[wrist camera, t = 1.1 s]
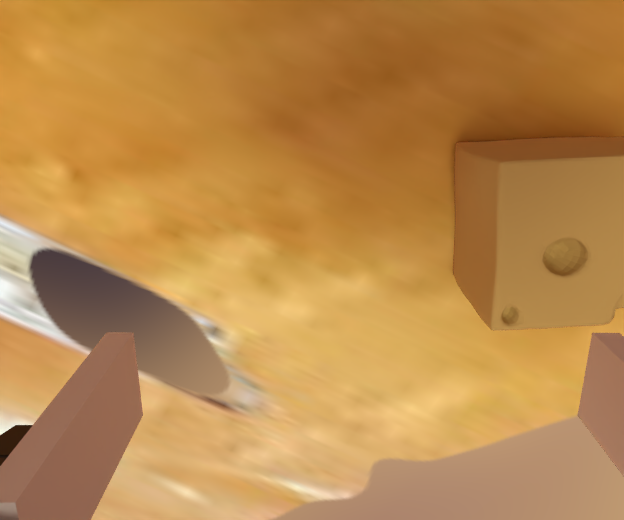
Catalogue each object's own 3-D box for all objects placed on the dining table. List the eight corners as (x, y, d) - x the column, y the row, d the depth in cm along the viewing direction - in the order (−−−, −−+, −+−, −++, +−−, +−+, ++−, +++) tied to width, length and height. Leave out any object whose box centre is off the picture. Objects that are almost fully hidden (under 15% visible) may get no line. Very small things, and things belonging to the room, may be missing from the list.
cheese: (589, 272, 41) (673, 330, 31) (442, 278, 41) (480, 339, 32) (605, 126, 38) (704, 143, 28) (446, 134, 38) (490, 153, 28)
